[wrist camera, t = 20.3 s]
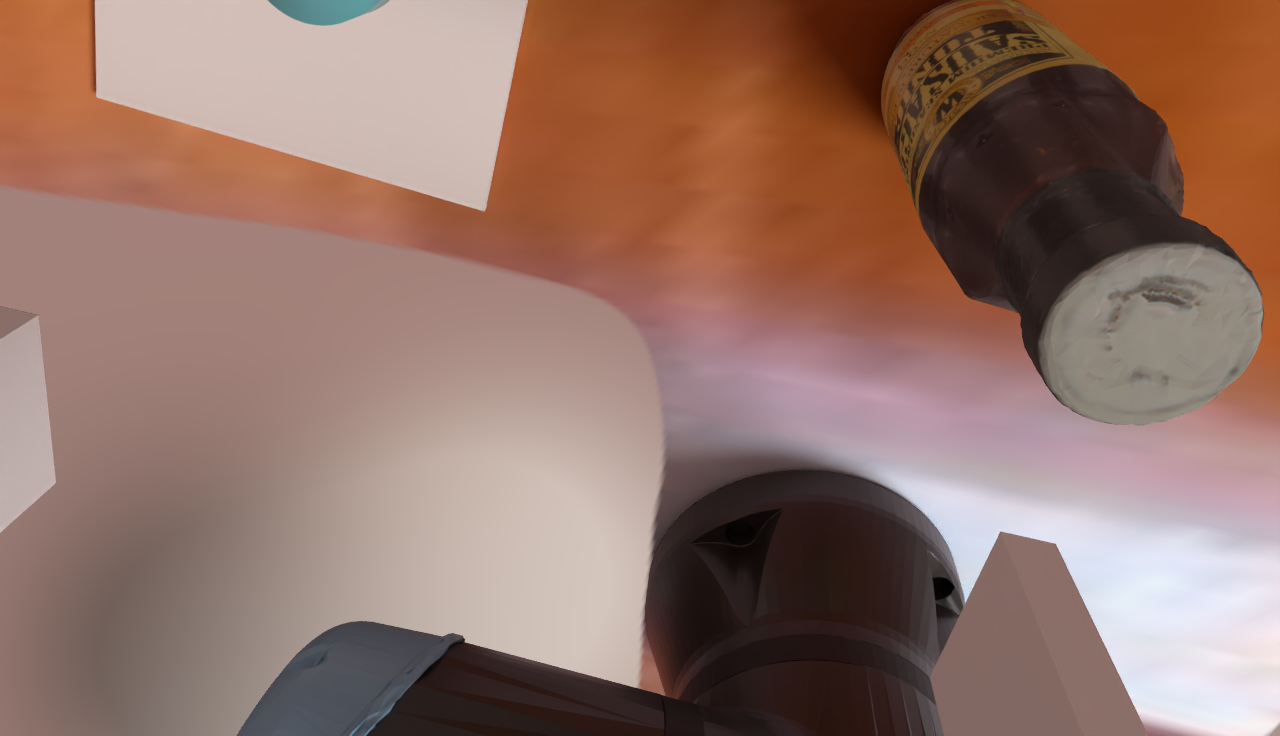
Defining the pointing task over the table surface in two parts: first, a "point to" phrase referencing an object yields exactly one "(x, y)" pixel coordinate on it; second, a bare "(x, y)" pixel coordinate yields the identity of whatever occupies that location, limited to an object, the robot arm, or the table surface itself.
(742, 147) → the table surface
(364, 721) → the robot arm
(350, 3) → the marker
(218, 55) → the paper
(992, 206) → the sauce bottle
